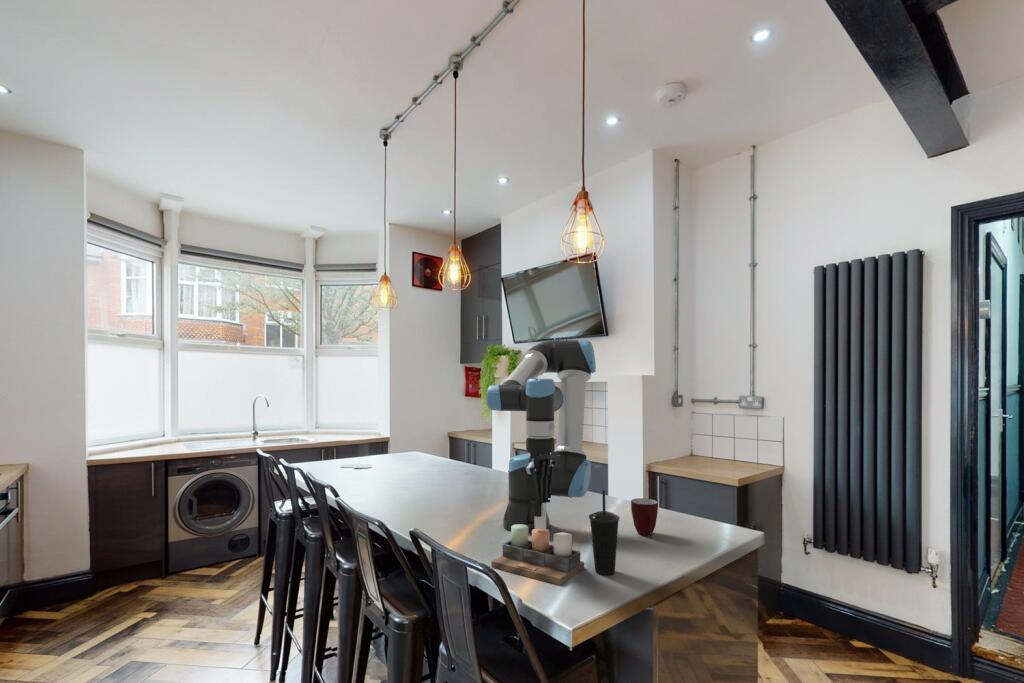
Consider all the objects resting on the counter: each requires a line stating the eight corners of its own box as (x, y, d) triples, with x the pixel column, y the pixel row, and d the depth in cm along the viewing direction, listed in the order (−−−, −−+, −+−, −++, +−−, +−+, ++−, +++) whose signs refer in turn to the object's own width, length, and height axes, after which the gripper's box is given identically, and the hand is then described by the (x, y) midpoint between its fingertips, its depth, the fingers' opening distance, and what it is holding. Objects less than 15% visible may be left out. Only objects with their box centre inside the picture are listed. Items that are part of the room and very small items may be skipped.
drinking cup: (586, 566, 130) (585, 487, 131) (615, 565, 130) (614, 487, 132) (593, 578, 122) (592, 494, 124) (624, 577, 123) (623, 494, 124)
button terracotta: (528, 551, 130) (528, 531, 130) (537, 546, 134) (537, 527, 134) (543, 555, 127) (543, 534, 128) (552, 549, 131) (552, 530, 132)
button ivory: (550, 556, 126) (550, 536, 127) (559, 551, 130) (559, 531, 131) (566, 560, 124) (566, 539, 124) (575, 554, 128) (574, 534, 128)
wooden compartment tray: (491, 567, 129) (491, 549, 130) (518, 552, 140) (519, 536, 140) (560, 585, 118) (559, 565, 119) (584, 567, 129) (584, 549, 129)
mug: (668, 539, 152) (667, 505, 152) (644, 541, 149) (643, 507, 150) (649, 529, 162) (648, 497, 162) (626, 531, 159) (626, 499, 160)
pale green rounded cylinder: (507, 546, 134) (507, 527, 134) (517, 542, 137) (517, 523, 138) (522, 550, 131) (522, 530, 131) (531, 545, 135) (531, 526, 135)
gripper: (539, 440, 125) (540, 537, 123) (564, 435, 136) (564, 524, 134) (514, 438, 129) (514, 532, 128) (540, 433, 140) (540, 520, 138)
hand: (540, 528), depth 131 cm, fingers closed
